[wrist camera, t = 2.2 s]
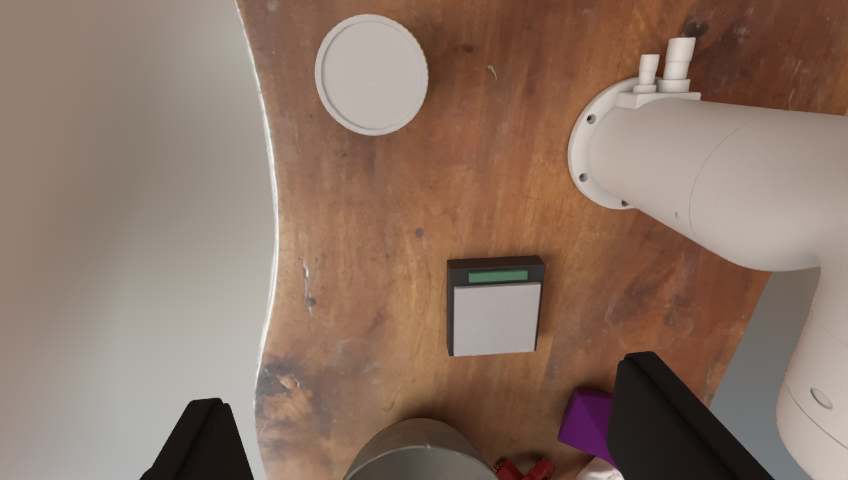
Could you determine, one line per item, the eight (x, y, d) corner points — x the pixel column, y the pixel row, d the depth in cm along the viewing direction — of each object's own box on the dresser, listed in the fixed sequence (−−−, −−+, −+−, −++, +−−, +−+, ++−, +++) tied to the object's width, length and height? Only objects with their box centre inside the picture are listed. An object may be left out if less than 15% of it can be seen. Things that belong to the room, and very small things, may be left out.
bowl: (474, 364, 49) (494, 433, 40) (493, 470, 57) (513, 548, 47) (322, 395, 49) (306, 470, 40) (361, 496, 57) (355, 579, 47)
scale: (446, 259, 43) (450, 272, 41) (538, 255, 44) (547, 266, 42) (446, 344, 48) (449, 360, 45) (530, 339, 48) (538, 354, 46)
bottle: (380, 131, 38) (373, 168, 24) (322, 71, 35) (278, 75, 22) (435, 75, 36) (462, 80, 22) (378, 9, 34) (369, -30, 20)
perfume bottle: (567, 375, 51) (652, 523, 35) (621, 382, 52) (728, 528, 36) (547, 419, 54) (617, 576, 37) (599, 425, 55) (689, 580, 38)
